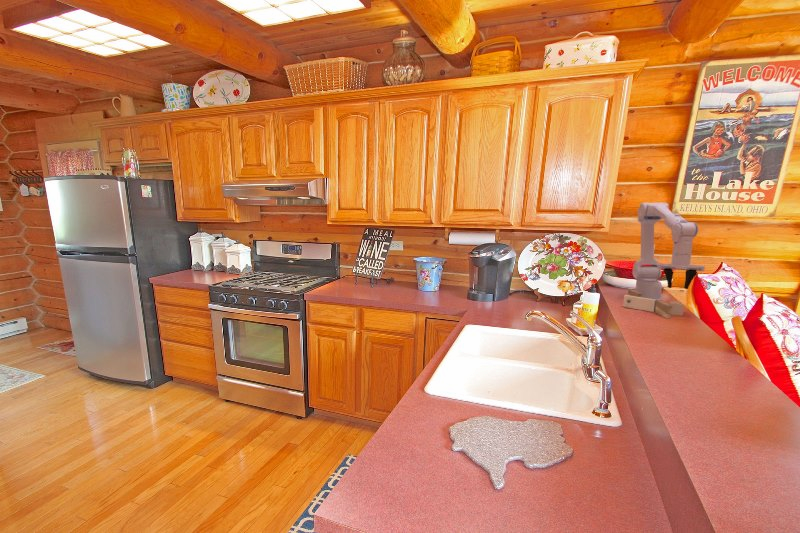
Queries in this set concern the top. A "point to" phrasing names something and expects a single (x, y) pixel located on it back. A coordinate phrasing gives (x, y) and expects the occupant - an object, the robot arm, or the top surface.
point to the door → (639, 303)
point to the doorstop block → (676, 308)
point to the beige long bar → (660, 308)
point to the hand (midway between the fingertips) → (677, 288)
